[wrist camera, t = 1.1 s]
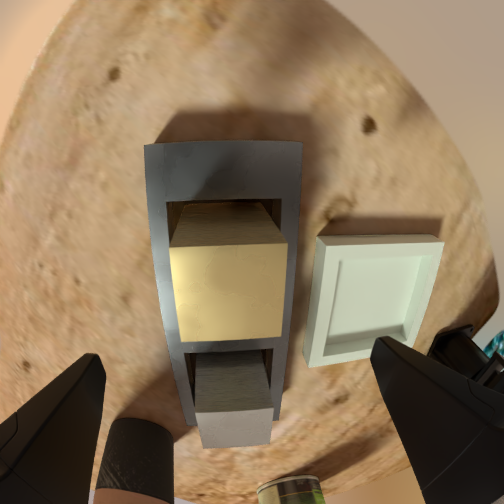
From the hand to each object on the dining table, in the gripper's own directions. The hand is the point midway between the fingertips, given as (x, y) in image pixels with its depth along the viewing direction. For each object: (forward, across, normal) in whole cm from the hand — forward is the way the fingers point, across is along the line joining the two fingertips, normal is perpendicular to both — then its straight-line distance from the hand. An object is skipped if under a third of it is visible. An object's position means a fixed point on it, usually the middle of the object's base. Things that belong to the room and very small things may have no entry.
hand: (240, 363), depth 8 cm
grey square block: (+11, 0, +10) cm, 15 cm away
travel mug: (+11, +10, +22) cm, 27 cm away
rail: (+11, 0, +5) cm, 12 cm away
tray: (+11, -11, +5) cm, 16 cm away
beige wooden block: (+11, 0, 0) cm, 11 cm away
